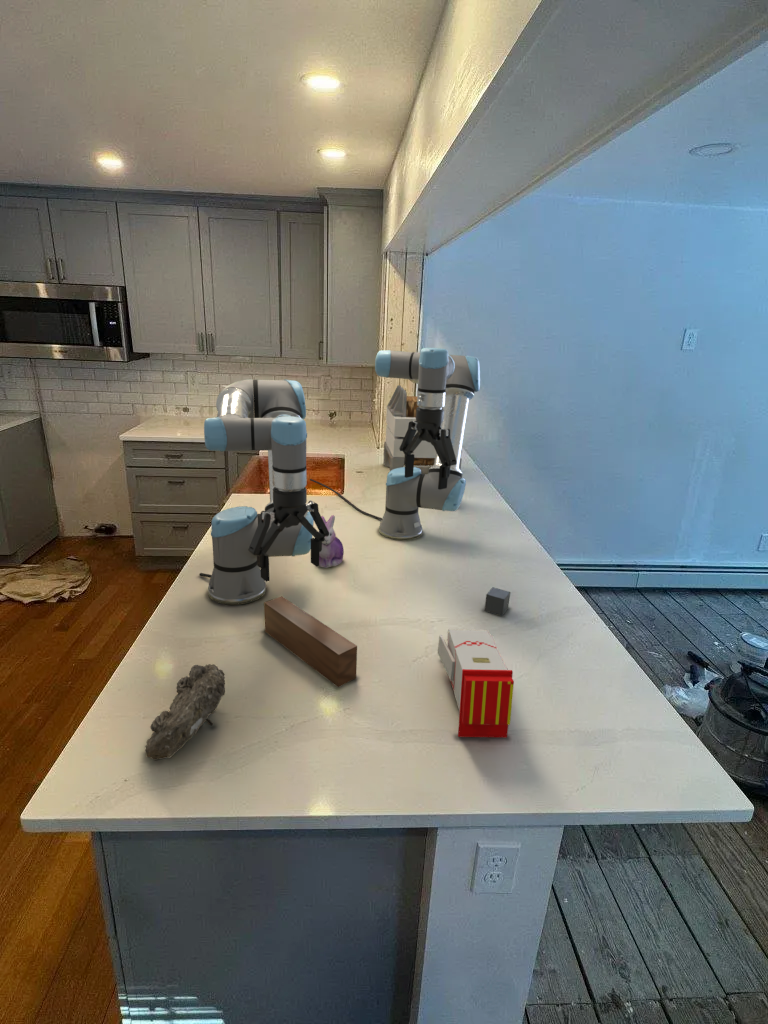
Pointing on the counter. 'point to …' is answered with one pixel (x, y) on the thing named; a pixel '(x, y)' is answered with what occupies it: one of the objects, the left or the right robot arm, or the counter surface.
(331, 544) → the figurine
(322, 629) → the plank
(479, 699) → the toy
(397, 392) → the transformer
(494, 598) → the grey block
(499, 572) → the counter surface
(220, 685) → the fossil
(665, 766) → the counter surface
